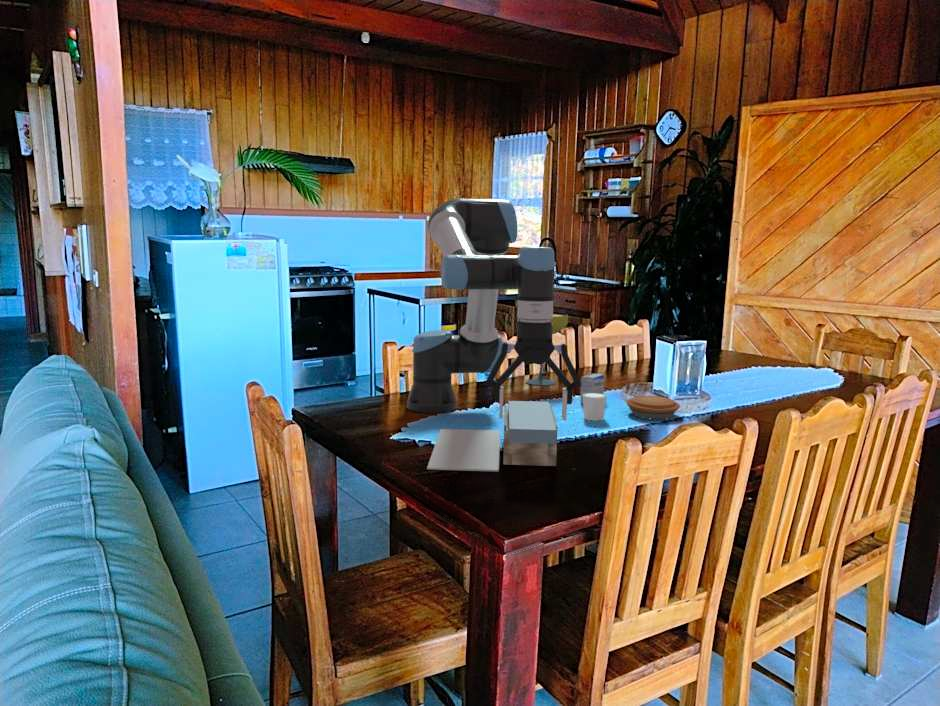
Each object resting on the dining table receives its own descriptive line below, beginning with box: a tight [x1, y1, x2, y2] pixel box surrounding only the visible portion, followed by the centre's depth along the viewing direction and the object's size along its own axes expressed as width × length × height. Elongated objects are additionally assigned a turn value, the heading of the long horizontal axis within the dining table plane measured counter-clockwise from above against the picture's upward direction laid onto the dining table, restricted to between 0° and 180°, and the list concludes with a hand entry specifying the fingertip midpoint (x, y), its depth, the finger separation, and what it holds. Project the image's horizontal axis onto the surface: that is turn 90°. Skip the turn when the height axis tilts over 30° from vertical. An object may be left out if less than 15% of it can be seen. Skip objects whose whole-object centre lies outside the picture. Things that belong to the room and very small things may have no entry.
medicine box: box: [579, 373, 605, 404], centre depth 219 cm, size 8×4×9 cm, turn 143°
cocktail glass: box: [516, 311, 569, 387], centre depth 246 cm, size 18×18×25 cm
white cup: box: [582, 393, 608, 422], centre depth 198 cm, size 7×7×7 cm
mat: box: [426, 428, 501, 473], centre depth 168 cm, size 16×32×1 cm, turn 177°
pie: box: [625, 395, 681, 420], centre depth 203 cm, size 15×16×5 cm
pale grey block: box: [507, 400, 556, 444], centre depth 159 cm, size 10×26×3 cm, turn 177°
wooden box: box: [502, 404, 558, 467], centre depth 166 cm, size 12×20×9 cm, turn 177°
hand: (532, 418), depth 148 cm, fingers open, 13 cm apart
